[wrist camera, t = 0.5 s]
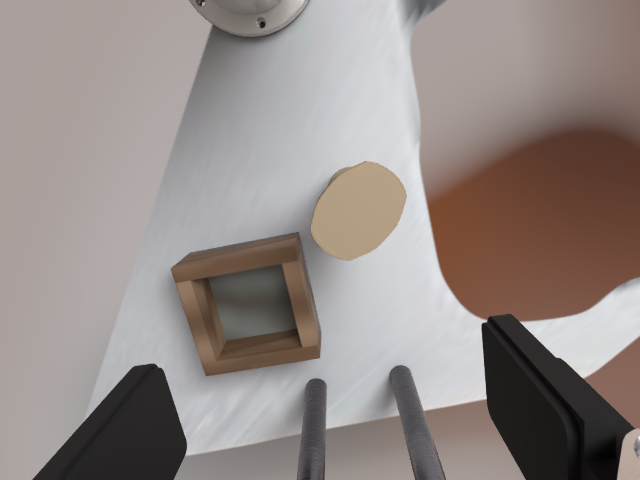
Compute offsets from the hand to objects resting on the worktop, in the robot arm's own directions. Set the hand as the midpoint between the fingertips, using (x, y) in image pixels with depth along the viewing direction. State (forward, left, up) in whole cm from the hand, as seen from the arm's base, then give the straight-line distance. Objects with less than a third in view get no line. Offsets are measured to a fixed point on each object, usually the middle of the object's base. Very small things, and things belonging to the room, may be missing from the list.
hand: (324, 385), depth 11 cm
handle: (-2, +2, -29) cm, 29 cm away
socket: (+8, -10, -29) cm, 31 cm away
